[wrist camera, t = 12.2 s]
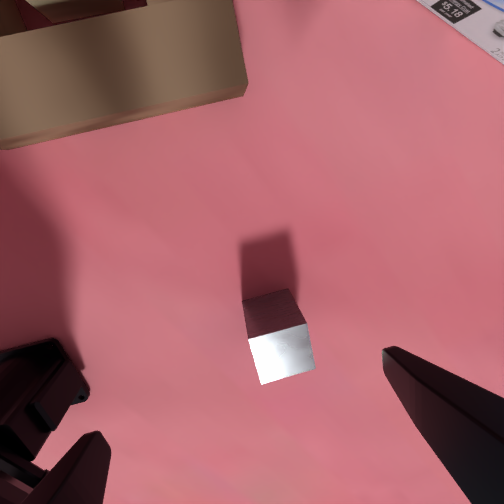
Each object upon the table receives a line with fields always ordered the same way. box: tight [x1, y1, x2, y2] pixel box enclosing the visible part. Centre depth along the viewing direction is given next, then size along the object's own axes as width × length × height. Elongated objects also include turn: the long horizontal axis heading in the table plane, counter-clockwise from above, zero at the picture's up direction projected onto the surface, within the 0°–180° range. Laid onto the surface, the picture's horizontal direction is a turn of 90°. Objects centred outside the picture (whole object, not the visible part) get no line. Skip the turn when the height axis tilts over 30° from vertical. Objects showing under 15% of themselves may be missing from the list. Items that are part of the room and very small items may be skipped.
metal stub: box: [242, 289, 316, 384], centre depth 20 cm, size 4×4×5 cm
